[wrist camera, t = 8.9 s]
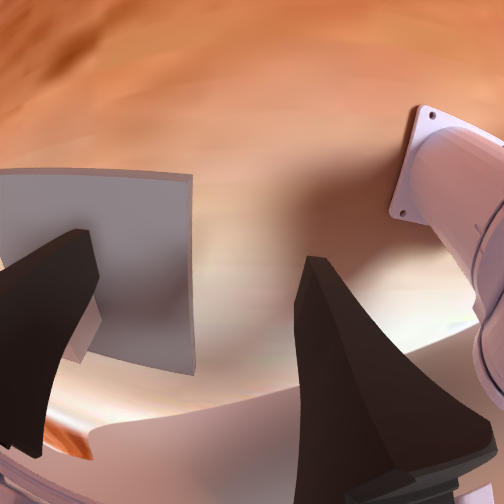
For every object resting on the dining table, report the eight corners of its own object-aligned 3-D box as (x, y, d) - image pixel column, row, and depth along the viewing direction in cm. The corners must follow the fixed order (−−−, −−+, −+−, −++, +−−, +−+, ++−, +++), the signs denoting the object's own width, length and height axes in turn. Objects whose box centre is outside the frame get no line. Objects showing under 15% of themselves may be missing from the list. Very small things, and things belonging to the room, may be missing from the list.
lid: (192, 174, 14) (157, 228, 10) (195, 365, 23) (184, 419, 19) (-15, 169, 14) (-63, 204, 9) (41, 326, 23) (18, 364, 19)
